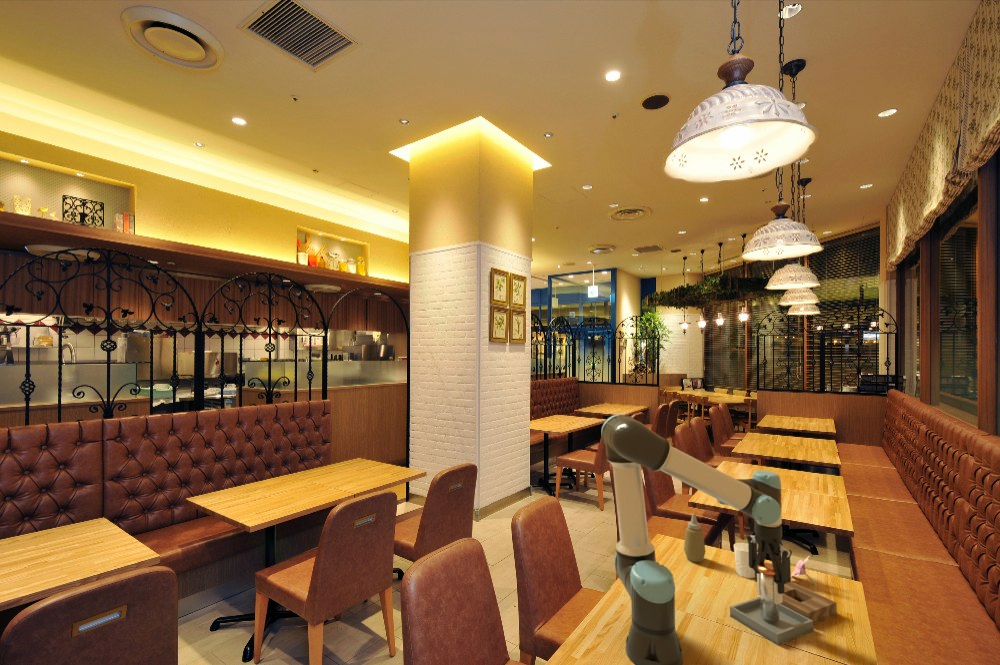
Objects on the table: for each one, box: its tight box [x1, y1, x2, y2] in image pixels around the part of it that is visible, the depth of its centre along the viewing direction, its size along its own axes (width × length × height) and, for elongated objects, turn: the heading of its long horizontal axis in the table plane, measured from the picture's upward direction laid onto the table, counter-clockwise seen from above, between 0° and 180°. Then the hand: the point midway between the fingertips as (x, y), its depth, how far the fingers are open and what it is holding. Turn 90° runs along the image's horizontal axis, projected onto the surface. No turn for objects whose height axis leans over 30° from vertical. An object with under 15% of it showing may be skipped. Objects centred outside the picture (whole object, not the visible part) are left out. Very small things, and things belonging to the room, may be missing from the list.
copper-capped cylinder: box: [757, 562, 780, 622], centre depth 146 cm, size 6×6×15 cm
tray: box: [729, 596, 814, 646], centre depth 146 cm, size 16×16×3 cm
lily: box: [791, 555, 815, 586], centre depth 171 cm, size 12×12×10 cm
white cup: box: [733, 542, 755, 579], centre depth 177 cm, size 8×8×10 cm
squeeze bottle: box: [683, 513, 706, 563], centre depth 189 cm, size 8×8×18 cm
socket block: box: [780, 581, 838, 626], centre depth 154 cm, size 14×16×4 cm
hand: (769, 598), depth 146 cm, fingers closed on copper-capped cylinder, 5 cm apart
